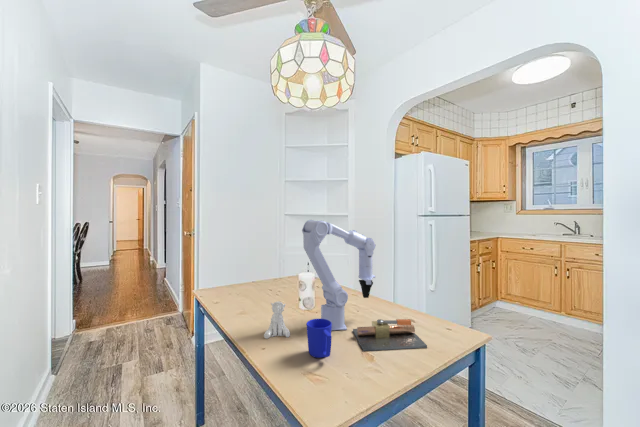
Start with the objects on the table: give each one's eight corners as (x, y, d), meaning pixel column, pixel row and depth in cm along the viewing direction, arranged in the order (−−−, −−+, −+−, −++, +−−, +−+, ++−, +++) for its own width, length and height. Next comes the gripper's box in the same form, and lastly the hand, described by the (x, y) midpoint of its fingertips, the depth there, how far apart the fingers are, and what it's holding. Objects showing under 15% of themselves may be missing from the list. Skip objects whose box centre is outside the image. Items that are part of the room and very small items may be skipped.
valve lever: (377, 325, 105) (377, 321, 105) (376, 322, 107) (376, 318, 107) (411, 325, 104) (411, 321, 104) (409, 322, 107) (409, 319, 107)
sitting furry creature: (263, 339, 104) (263, 306, 104) (264, 329, 113) (264, 299, 113) (290, 337, 106) (290, 304, 105) (288, 328, 114) (288, 297, 114)
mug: (317, 369, 85) (317, 335, 84) (302, 350, 96) (302, 320, 96) (341, 363, 88) (341, 330, 88) (325, 345, 99) (325, 316, 99)
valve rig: (363, 351, 95) (363, 336, 95) (352, 331, 111) (352, 318, 111) (427, 347, 97) (427, 333, 97) (407, 328, 113) (407, 316, 113)
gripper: (378, 268, 115) (378, 302, 115) (371, 262, 130) (371, 292, 130) (361, 269, 115) (361, 302, 115) (356, 262, 130) (356, 292, 130)
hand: (365, 297), depth 123 cm, fingers closed
